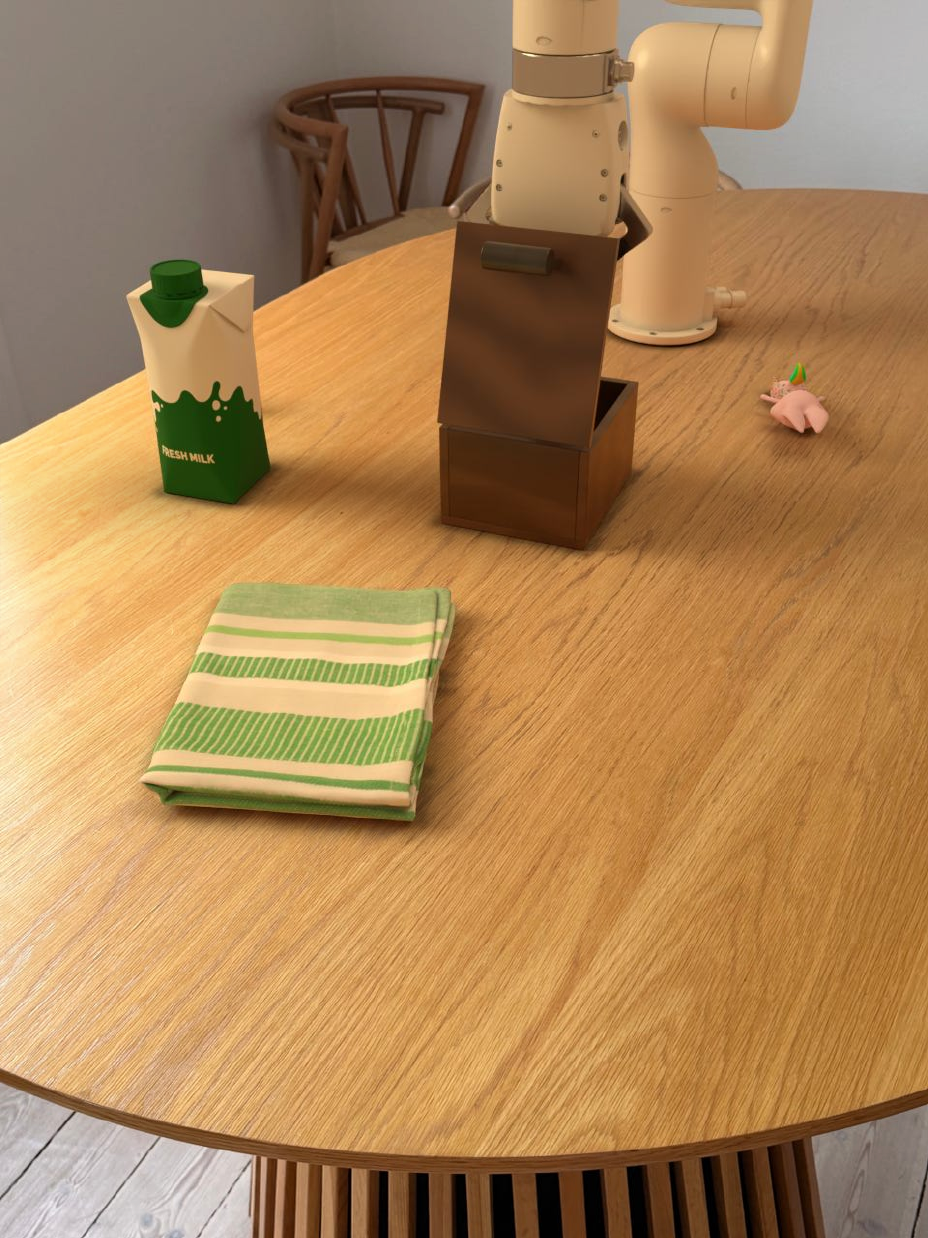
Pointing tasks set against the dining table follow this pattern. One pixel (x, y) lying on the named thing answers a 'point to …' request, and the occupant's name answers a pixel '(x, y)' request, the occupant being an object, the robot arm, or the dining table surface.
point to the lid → (526, 331)
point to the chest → (539, 475)
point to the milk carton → (202, 379)
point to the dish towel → (307, 702)
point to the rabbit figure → (796, 403)
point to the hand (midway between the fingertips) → (554, 312)
